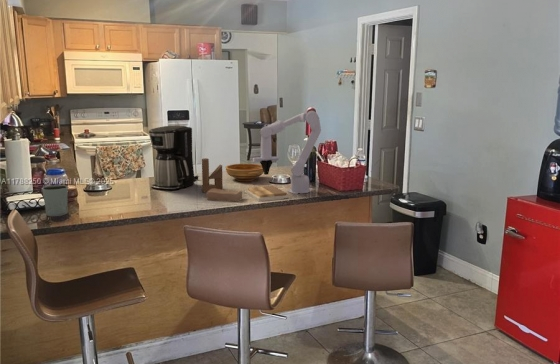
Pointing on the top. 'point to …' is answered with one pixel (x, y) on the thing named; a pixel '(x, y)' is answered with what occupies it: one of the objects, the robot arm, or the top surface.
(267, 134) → the robot arm
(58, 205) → the gray cup
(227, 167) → the wooden bowl
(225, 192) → the brick
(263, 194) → the plank
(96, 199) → the top surface
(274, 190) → the floor board
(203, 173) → the brown wooden bracket
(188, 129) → the coffee maker
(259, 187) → the plank
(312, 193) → the top surface
